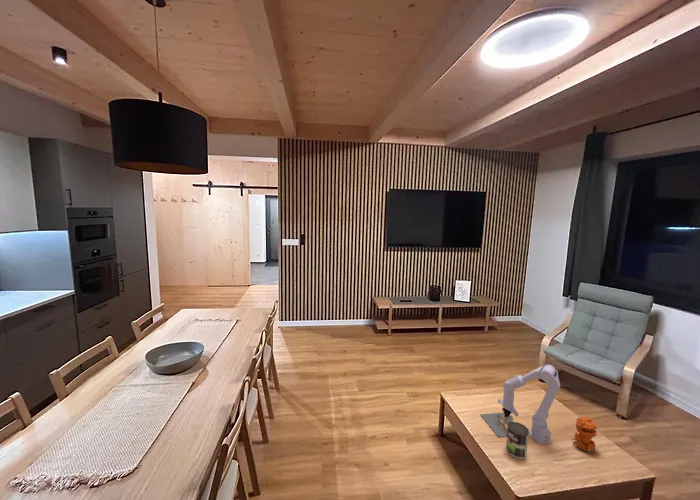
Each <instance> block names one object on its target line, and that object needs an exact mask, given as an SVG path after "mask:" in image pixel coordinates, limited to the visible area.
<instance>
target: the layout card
mask: <svg viewBox="0 0 700 500" xmlns="http://www.w3.org/2000/svg"><path fill="white" fill-rule="evenodd" d="M480 417H481V418H482V419H483V421H484V422H485V423H486V424H487V426H488V427H489V428H490V429H491V431H492V432H493V433H494V434H495V436H496V437H497V438H507V433H506V432H505V431H504V430H503V428H502V427H501V426H500V425H499V417H502V418H504V417H505V415H504V412H495V413H494V412H492V413H491V412H490V413H480ZM506 425H507V426H508V423H506Z"/></svg>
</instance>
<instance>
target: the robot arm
mask: <svg viewBox="0 0 700 500" xmlns="http://www.w3.org/2000/svg"><path fill="white" fill-rule="evenodd" d="M535 378H537V379H539V380H541V379H542V381H544V382H545V383H546V384H547V385H548V388H547V390H546V392H545V394H544V397H543V399H542V401H541V402H540V405H539V407H538V408H537V409H535V412H534V414H533V416H531V420H532V422H531V423H532V424H531V431H530V430H529V434H528V435H529V436H530V437H532V438H533V440H535V442H536V443H537V444H538V445H543V444H552V441H551V437H552V436H551V435H552V432H551V430H550V429H549V428H548V423H547V419H548V418H549V411H550V408H551V406H552V404H553V402H554V400H555V398H556V396H557V394H558V392H559V390H560V387H561V382H560V379H559V372H558V370H557V369H556V368H555V367H554V365H551V364H545V365H542V366H539V367H537V368H535V369H533V370H532V371H529V372H527V373H525V374H524V375H520V374H519V375H517V374H516V375H514V377H513V378H509V379H507V380H506V381H505V382H504V383H503V385H502V387H503V396H502V397H503V399H501V398H498V399H497V403H499V404H501V407H502V409H501V410H502V411H503V412H502V413H504V415H505V417H508V416H511V415H512V414H513V415H514V416H515V417H518V416H519V412H518V411H517V410H516V408H515V405H514V399H515V390H516V389H519V388H521V387H523V386H526V383H527V382H529V381H531V380H534V379H535Z"/></svg>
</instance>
